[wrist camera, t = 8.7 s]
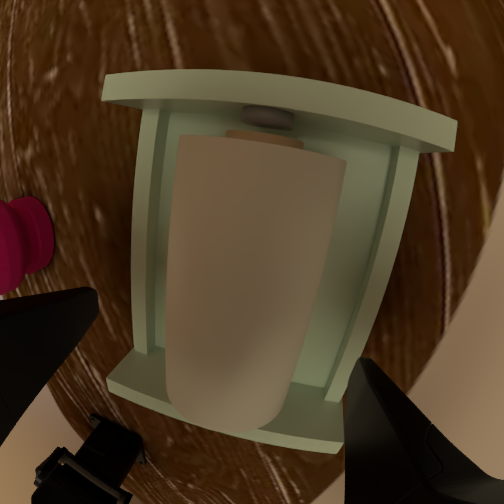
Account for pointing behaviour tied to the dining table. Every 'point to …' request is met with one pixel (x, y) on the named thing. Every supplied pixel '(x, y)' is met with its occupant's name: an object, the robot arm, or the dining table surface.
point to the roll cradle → (343, 236)
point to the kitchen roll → (243, 272)
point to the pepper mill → (23, 240)
